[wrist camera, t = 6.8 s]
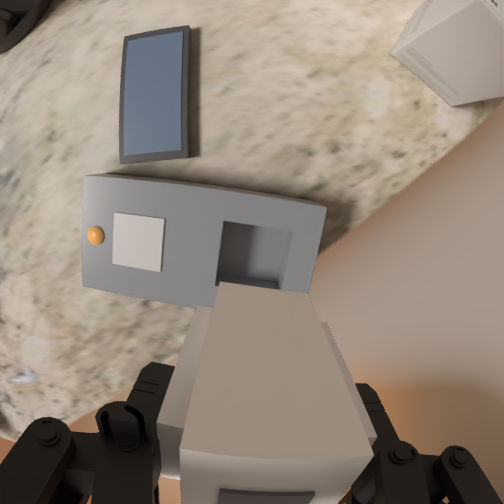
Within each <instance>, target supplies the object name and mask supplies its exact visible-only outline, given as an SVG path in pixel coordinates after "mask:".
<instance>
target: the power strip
mask: <svg viewBox="0 0 504 504" xmlns="http://www.w3.org/2000/svg"><path fill="white" fill-rule="evenodd" d="M326 211H327V207H325V206H323V205H321V204H320V203H318V202H315V201H310V200H304V199H299V198H293V197H287V196H281V195H276V194H269V193H263V192H257V191H251V190H244V189H237V188H231V187H224V186H216V185H209V184H201V183H193V182H185V181H177V180H168V179H159V178H150V177H139V176H129V175H117V174H94V175H85V177H84V189H83V206H82V279H83V286H85V287H89V288H94V289H98V290H103V291H107V292H112V293H117V294H122V295H127V296H131V297H136V298H142V299H147V300H152V301H157V302H163V303H168V304H174V305H180V306H185V307H191V308H197V305H199V306H206V307H212V308H213V307H214V303H215V299H216V295H217V291H218V287H219V283H220V282H227V283H234V284H241V285H248V286H255V287H262V288H269V289H276V290H284V291H291V292H299V293H307V294H308V293H309V289H310V285H311V280H312V276H313V272H314V267H315V262H316V259H317V254H318V249H319V245H320V240H321V235H322V230H323V226H324V221H325V216H326Z"/></svg>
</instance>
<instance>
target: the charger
mask: <svg viewBox="0 0 504 504" xmlns="http://www.w3.org/2000/svg"><path fill="white" fill-rule="evenodd" d="M373 456H374V453H373V451H372V448H371V446H370V443H369V440H368V438H367V435H366V432H365V430H364V427H363V425H362V422H361V420H360V417H359V415H358V412H357V409H356V407H355V404H354V402H353V399H352V397H351V394H350V392H349V390H348V387H347V385H346V382H345V380H344V377H343V375H342V372H341V370H340V368H339V365H338V363H337V360H336V358H335V356H334V353H333V351H332V348H331V346H330V344H329V341H328V339H327V337H326V334H325V332H324V330H323V327H322V325H321V323H320V320H319V318H318V316H317V314H316V311H315V309H314V307H313V304H312V302H311V300H310V297H309V295H308V294H307V293H299V292H291V291H284V290H276V289H269V288H262V287H255V286H248V285H241V284H234V283H227V282H220V283H219V287H218V291H217V295H216V299H215V303H214V307H213V310H212V314H211V318H210V322H209V326H208V330H207V334H206V338H205V342H204V346H203V350H202V354H201V358H200V363H199V367H198V371H197V375H196V379H195V383H194V387H193V392H192V396H191V400H190V404H189V409H188V413H187V417H186V422H185V426H184V431H183V435H182V439H181V444H180V487H181V488H180V489H181V504H336V503H337V502H338V501H339V500H340V498H341V497H342V496H343V495H344V494H345V493H346V491H347V490H348V489H349V488H350V487H351V485H352V484H353V483H354V482H355V480H356V479H357V478H358V476H359V475H360V474H361V473H362V471H363V470H364V469H365V467H366V466H367V465H368V463H369V462H370V460H371V459H372V458H373Z"/></svg>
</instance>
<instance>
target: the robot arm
mask: <svg viewBox="0 0 504 504" xmlns="http://www.w3.org/2000/svg"><path fill="white" fill-rule="evenodd" d="M51 1H52V0H0V54H2V53H4V52H5V51H7V50H9V49H10V48H11V47H13V46H14V45H15V44H16V43H18V42H19V41H20V40H21V39H22V38H23V37H24V36H25V35H26V34H27V33H28V32H29V31H30V30H31V29H32V27H33V26H34V25H35V24H36V23H37V21H38V20H39V19H40V18H41V16H42V15H43V13H44V12H45V11H46V9H47V8H48V6H49V4H50V3H51ZM212 310H213V308H212V307H206V306H199V305H197V308H196V311H195V313H194V316H193V319H192V321H191V324H190V327H189V330H188V332H187V335H186V338H185V341H184V343H183V346H182V349H181V352H180V355H179V358H178V360H177V363H176V366H170V365H165V364H161V363H156V362H151V363H149V364H148V365H147V366H145V367H144V368H143V369H142V370H141V372H140V374H139V376H138V378H137V381H136V382H135V384H134V386H133V390H131V392H130V394H129V397H128V399H127V401H115V402H111V403H108V404H105V405H104V406H103V407H101V408H100V409H99V410H98V412H97V414H96V416H95V418H96V421H97V425H98V429H99V432H98V433H84V432H72V431H70V429H69V428H68V426H67V425H66V424H65V423H64V422H62V421H61V420H59V419H56V418H52V417H42V418H39V419H37V420H34V421H33V422H32V423H31V424H30V425H29V426H28V427H27V429H26V430H25V431H24V433H23V434H22V435H21V437H20V438H19V439H18V441H17V442H16V443H15V445H14V446H13V447H12V449H11V450H10V451H9V453H8V454H7V456H6V457H5V458H4V460H3V461H2V463H1V464H0V504H87V502H88V500H89V497H90V495H92V498H91V504H160V503H159V486H158V480H159V476H160V472H161V475H162V476H163V477H168V478H173V479H178V480H180V444H181V439H182V435H183V431H184V426H185V422H186V417H187V413H188V409H189V404H190V400H191V396H192V392H193V387H194V383H195V379H196V375H197V371H198V367H199V363H200V358H201V354H202V350H203V346H204V342H205V338H206V334H207V330H208V326H209V322H210V318H211V314H212ZM320 323H321V325H322V327H323V330H324V332H325V334H326V337H327V339H328V341H329V344H330V346H331V348H332V351H333V353H334V356H335V358H336V360H337V363H338V365H339V368H340V370H341V372H342V375H343V377H344V380H345V382H346V385H347V387H348V390H349V392H350V394H351V397H352V399H353V402H354V404H355V407H356V409H357V412H358V415H359V417H360V420H361V422H362V425H363V427H364V430H365V432H366V435H367V438H368V440H369V443H370V446H371V448H372V451H373V453H374V456H373V458H372V459H371V460H370V462H369V463H368V465H367V466H366V467H365V469H364V470H363V471H362V473H361V474H360V475H359V476H358V478H357V479H356V480H355V482H354V483H353V484H352V485H351V489H350V490H349V491H348V492H347V494H346V495H345V496H344V497H343V498H342V500H341V501H340V502H339V503H338V504H345V503H346V504H446V503H444V502H443V501H442V500H443V499H444V498H445V497H446V496H447V498H448V500H449V503H448V504H503V503H502V501H501V500H500V498H499V497H498V495H497V493H496V492H495V490H494V489H493V487H492V486H491V484H490V482H489V480H488V479H487V477H486V476H485V474H484V472H483V471H482V469H481V468H480V466H479V465H478V463H477V462H476V460H475V459H474V457H473V456H472V454H471V453H470V452H469V451H468V450H466V449H465V448H463V447H460V446H449V447H447V448H446V449H445V450H444V451H443V452H442V454H441V455H440V456H435V455H423V454H419V453H418V451H417V450H416V449H415V448H414V447H413V446H412V445H411V444H409V443H407V442H405V441H400V440H399V438H398V436H397V434H396V432H395V430H394V427H393V426H392V424H391V421H390V419H389V417H388V415H387V413H386V412H385V409H384V407H383V405H382V404H381V401H380V399H379V397H378V395H377V393H376V392H375V391H374V390H373V389H372V388H371V387H370V386H369V385H368V384H366V383H365V384H362V383H354V381H353V379H352V377H351V374H350V372H349V370H348V368H347V365H346V363H345V361H344V359H343V357H342V354H341V352H340V350H339V348H338V346H337V343H336V341H335V339H334V337H333V334H332V333H331V330H330V328H329V326H328V324H327V322H320Z"/></svg>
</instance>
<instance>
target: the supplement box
mask: <svg viewBox="0 0 504 504" xmlns="http://www.w3.org/2000/svg"><path fill="white" fill-rule="evenodd" d="M391 55H392V56H393V57H395V58H396V59H397V60H399V61H400V62H401V63H402V64H404V65H405V66H406V67H407V68H409V69H410V70H411V71H412V72H413V73H415V74H416V75H417V76H418V77H419V78H421V79H422V80H423V81H424V82H425V83H426V84H427V85H429V86H430V87H431V88H432V89H433V90H434V91H435V92H436V93H437V94H438V95H439V96H440V97H442V98H443V99H444V100H445V101H446V102H447V103H448V104H449V105H450V106H451V107H453V106H457V105H462V104H467V103H472V102H477V101H482V100H487V99H493V98H498V97H504V0H427V1H426V2H425V3H423V4H422V5H421V6H420V7H418V8H417V9H416V10H415V12H414V13H413V15H412V17H411V19H410V21H409V22H408V24H407V26H406V28H405V29H404V31H403V33H402V35H401V36H400V38H399V40H398V42H397V44H396V45H395V47H394V49H393V51H392V53H391Z"/></svg>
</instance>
